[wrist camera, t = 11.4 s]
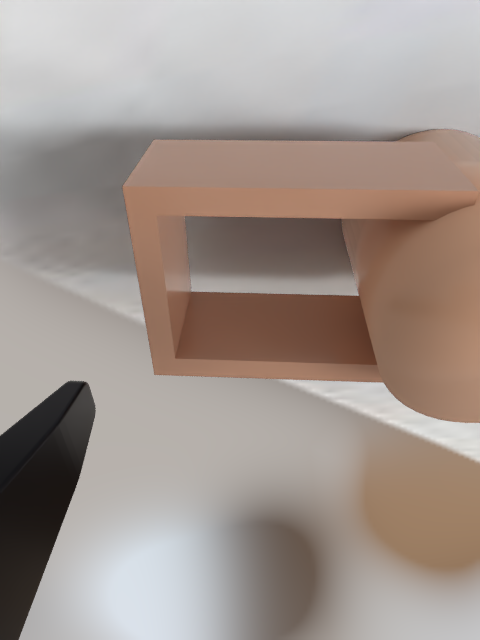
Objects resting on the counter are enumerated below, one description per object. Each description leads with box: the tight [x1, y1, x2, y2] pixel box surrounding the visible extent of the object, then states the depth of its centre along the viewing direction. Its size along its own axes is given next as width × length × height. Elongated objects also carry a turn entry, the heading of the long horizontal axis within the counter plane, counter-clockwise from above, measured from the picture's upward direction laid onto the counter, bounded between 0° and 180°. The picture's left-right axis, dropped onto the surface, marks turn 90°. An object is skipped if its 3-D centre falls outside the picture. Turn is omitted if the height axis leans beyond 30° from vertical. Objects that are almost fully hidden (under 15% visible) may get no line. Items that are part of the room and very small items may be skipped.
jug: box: [122, 129, 480, 423], centre depth 15 cm, size 14×7×8 cm, turn 90°
